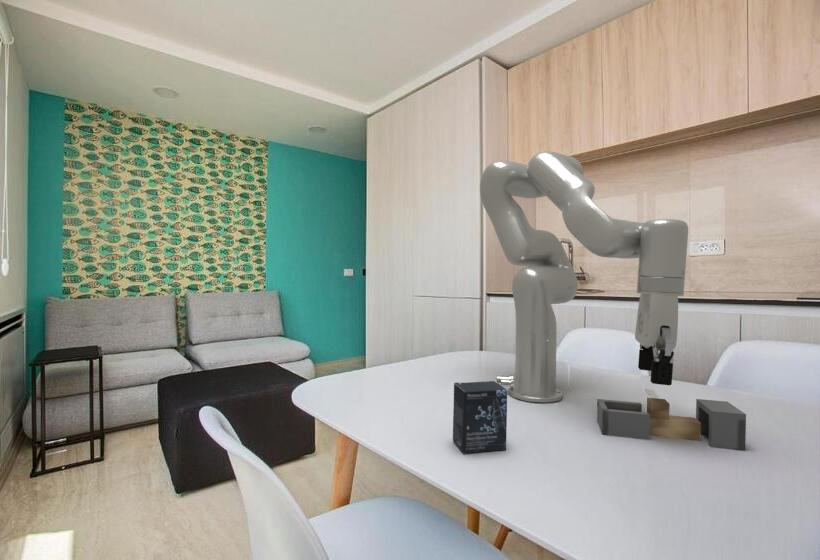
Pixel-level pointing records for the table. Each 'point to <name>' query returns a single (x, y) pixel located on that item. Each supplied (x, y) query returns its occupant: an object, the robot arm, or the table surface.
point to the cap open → (623, 419)
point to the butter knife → (651, 393)
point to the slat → (671, 422)
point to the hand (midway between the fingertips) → (653, 376)
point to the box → (479, 416)
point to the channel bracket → (722, 424)
